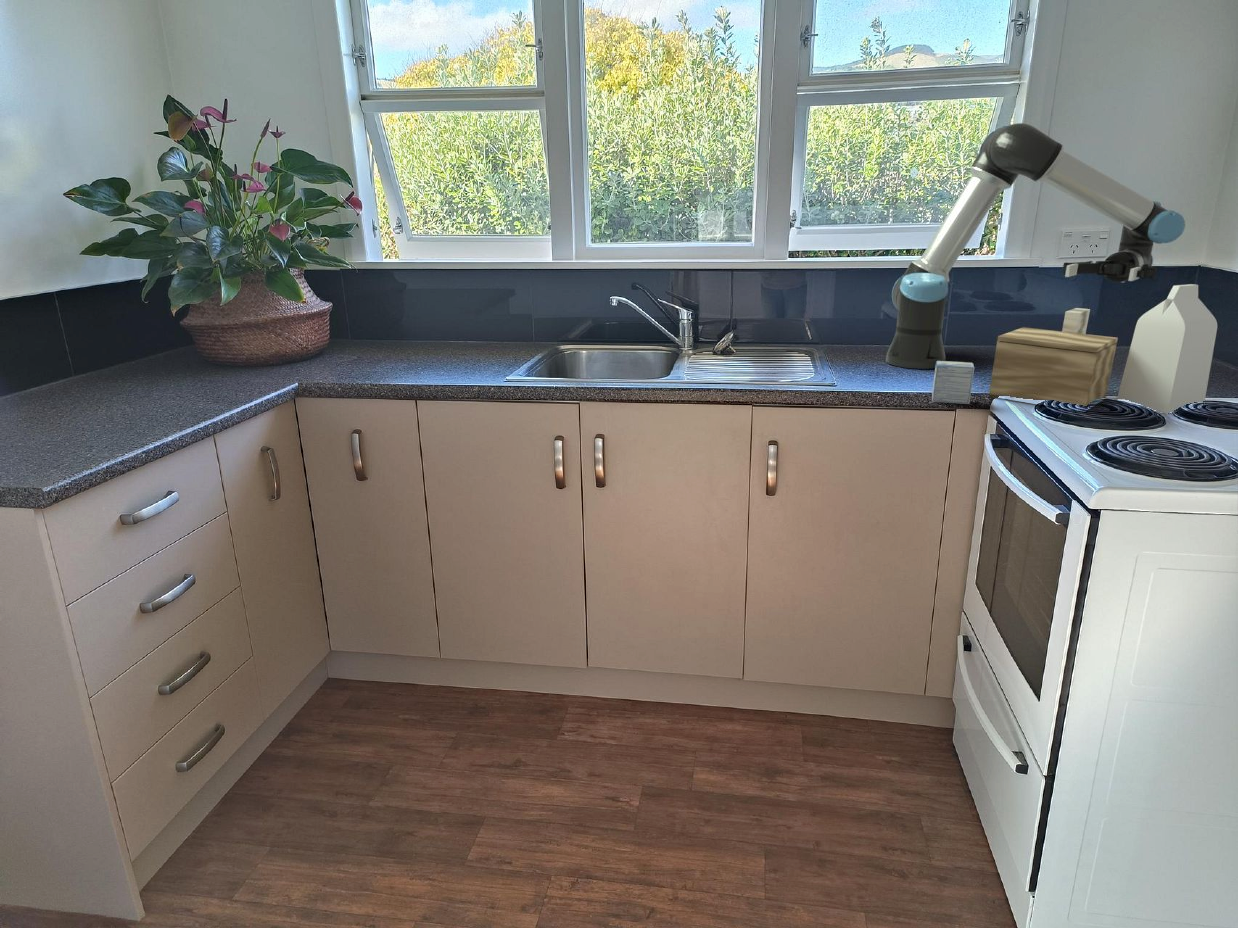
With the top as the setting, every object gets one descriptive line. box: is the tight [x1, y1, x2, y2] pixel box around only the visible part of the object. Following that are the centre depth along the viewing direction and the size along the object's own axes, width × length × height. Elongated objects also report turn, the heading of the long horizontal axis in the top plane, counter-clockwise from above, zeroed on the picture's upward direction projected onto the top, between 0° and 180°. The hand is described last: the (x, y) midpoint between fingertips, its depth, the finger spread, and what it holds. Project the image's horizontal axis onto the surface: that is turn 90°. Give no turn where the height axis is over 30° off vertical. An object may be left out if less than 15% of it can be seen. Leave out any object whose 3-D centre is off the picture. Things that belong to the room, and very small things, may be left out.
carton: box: [988, 340, 1118, 406], centre depth 181 cm, size 16×20×13 cm
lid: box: [996, 307, 1119, 353], centre depth 182 cm, size 24×20×8 cm
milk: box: [1116, 283, 1218, 415], centre depth 173 cm, size 12×12×26 cm
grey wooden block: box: [931, 360, 975, 405], centre depth 180 cm, size 8×4×9 cm, turn 71°
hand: (1098, 273), depth 191 cm, fingers open, 13 cm apart
